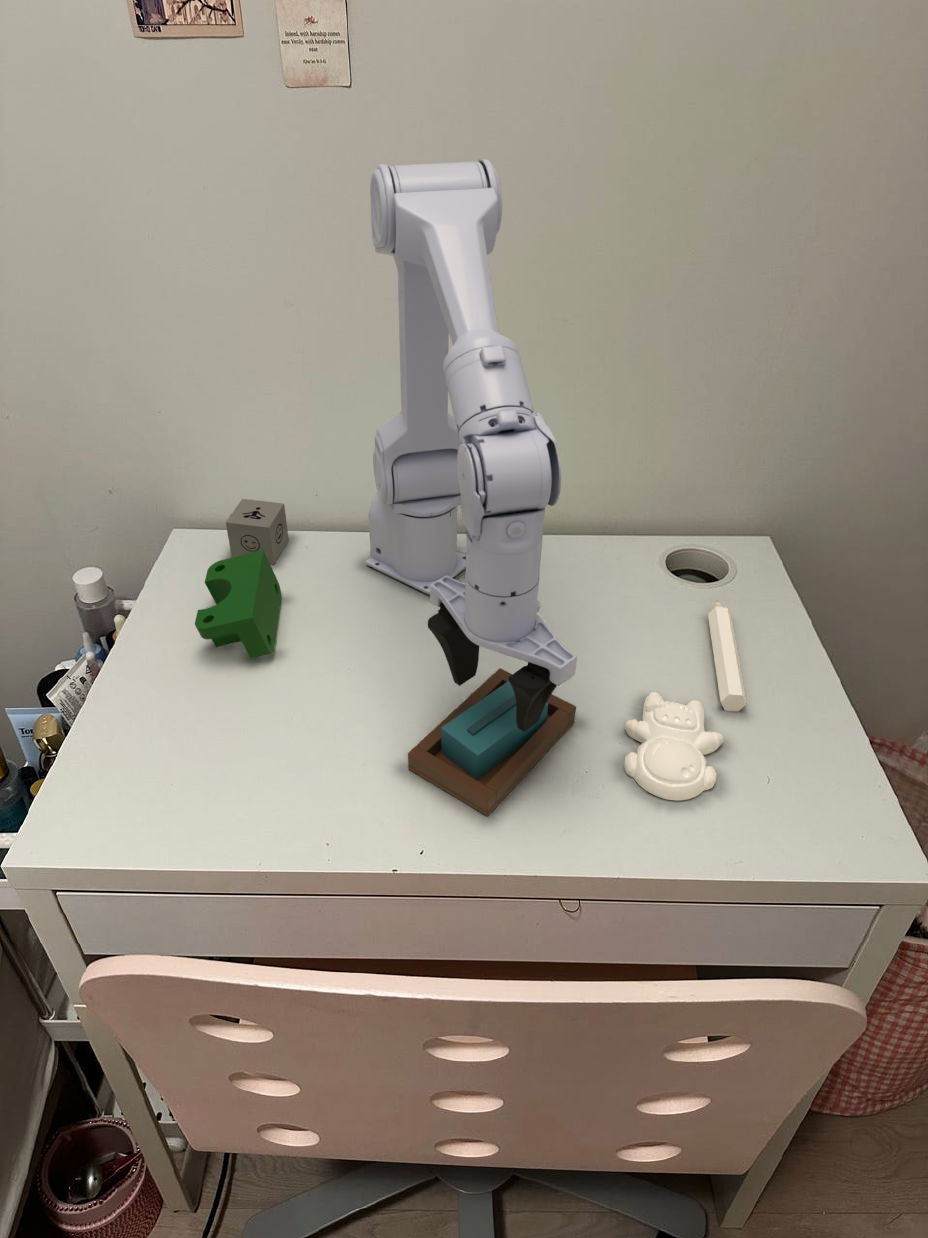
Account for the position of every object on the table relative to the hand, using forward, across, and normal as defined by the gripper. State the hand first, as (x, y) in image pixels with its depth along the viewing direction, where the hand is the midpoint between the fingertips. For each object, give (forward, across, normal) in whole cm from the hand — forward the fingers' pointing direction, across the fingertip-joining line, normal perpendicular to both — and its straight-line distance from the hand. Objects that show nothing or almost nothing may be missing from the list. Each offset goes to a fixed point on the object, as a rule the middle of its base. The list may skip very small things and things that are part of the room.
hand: (495, 701), depth 81 cm
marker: (+6, -8, -26) cm, 27 cm away
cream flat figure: (+6, -12, -11) cm, 17 cm away
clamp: (+6, +29, +7) cm, 31 cm away
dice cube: (+6, +40, -3) cm, 40 cm away
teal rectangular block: (+5, 0, 0) cm, 5 cm away
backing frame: (+6, 0, 0) cm, 6 cm away
